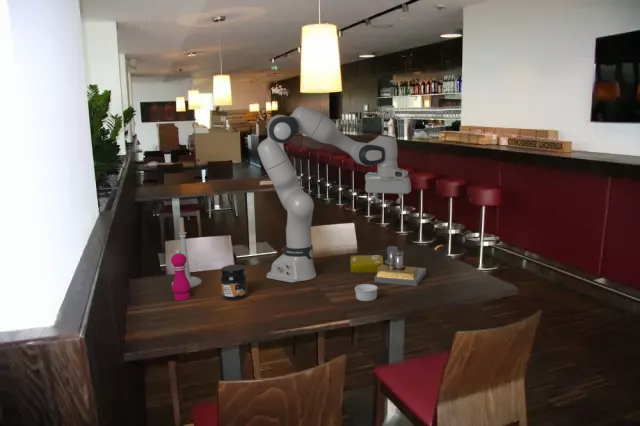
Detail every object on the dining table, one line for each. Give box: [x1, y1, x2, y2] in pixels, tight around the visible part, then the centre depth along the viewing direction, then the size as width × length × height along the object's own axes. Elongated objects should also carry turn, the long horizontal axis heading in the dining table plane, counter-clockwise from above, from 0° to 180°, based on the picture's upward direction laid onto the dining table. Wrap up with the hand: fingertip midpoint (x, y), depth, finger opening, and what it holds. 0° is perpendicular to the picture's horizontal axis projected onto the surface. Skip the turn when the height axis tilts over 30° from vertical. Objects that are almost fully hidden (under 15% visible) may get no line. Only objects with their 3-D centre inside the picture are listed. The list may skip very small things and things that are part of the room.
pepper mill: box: [170, 249, 191, 301], centre depth 210 cm, size 7×7×20 cm
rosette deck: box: [373, 245, 427, 287], centre depth 226 cm, size 18×18×12 cm
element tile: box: [349, 254, 384, 273], centre depth 244 cm, size 15×15×5 cm
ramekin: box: [354, 283, 378, 302], centre depth 204 cm, size 9×9×4 cm
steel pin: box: [394, 250, 405, 270], centre depth 225 cm, size 4×4×12 cm
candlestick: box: [171, 216, 202, 288], centre depth 228 cm, size 13×13×30 cm
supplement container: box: [219, 264, 249, 301], centre depth 210 cm, size 10×10×12 cm
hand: (387, 203), depth 233 cm, fingers open, 8 cm apart
